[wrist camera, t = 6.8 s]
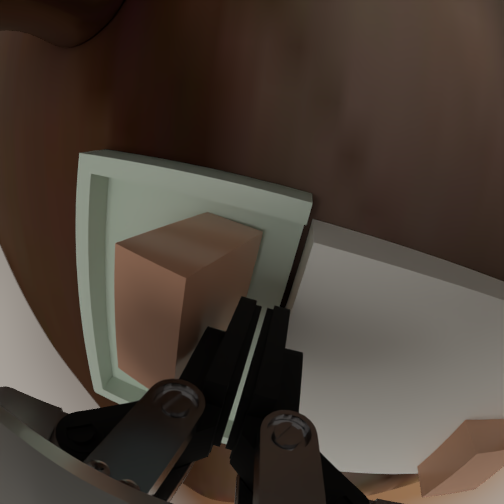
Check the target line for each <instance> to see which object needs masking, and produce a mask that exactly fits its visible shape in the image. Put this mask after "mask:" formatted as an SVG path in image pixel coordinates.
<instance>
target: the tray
mask: <svg viewBox="0 0 504 504" xmlns="http://www.w3.org/2000/svg"><path fill="white" fill-rule="evenodd" d="M312 204H313V201H312V193H309V192H305V191H302V190H298V189H294V188H290V187H287V186H283V185H279V184H275V183H271V182H267V181H263V180H259V179H255V178H251V177H247V176H243V175H238V174H234V173H230V172H225V171H221V170H216V169H211V168H207V167H202V166H197V165H192V164H187V163H182V162H177V161H172V160H167V159H161V158H156V157H150V156H144V155H139V154H133V153H126V152H120V151H113V150H107V149H106V150H98V151H90V152H83V153H79V164H78V177H77V195H76V258H77V276H78V290H79V300H80V310H81V318H82V326H83V333H84V340H85V346H86V352H87V357H88V363H89V368H90V373H91V378H92V382H93V387H94V391H95V392H96V393H98V394H100V395H102V396H104V397H106V398H108V399H110V400H112V401H114V402H116V403H118V404H124V403H129V402H134V401H138V400H140V399H141V398H142V397H143V396H144V395H145V393H146V392H147V391H148V390H149V389H148V388H146V387H145V386H143V385H142V384H140V383H139V382H138V381H136V380H135V379H133V378H132V377H130V376H129V375H128V374H126V373H125V372H123V371H122V370H121V369H119V368H118V359H117V346H116V329H115V298H114V269H115V243H117V242H120V241H123V240H125V239H128V238H131V237H134V236H137V235H140V234H142V233H145V232H148V231H151V230H154V229H157V228H160V227H163V226H166V225H169V224H172V223H175V222H178V221H181V220H184V219H187V218H190V217H193V216H196V215H199V214H203V213H206V212H209V213H212V214H215V215H218V216H220V217H223V218H226V219H229V220H232V221H234V222H237V223H240V224H243V225H246V226H248V227H251V228H254V229H257V230H259V231H262V232H263V235H262V239H261V243H260V247H259V250H258V254H257V258H256V262H255V266H254V270H253V274H252V278H251V281H250V285H249V289H248V293H247V297H246V298H250V299H254V300H257V303H256V305H259V306H262V309H261V312H260V316H259V319H258V323H257V326H256V330H255V333H254V337H253V340H252V344H251V347H250V351H249V354H248V358H247V361H246V364H245V368H244V371H243V374H242V378H241V381H240V384H239V387H238V391H237V394H236V397H235V400H234V404H233V407H232V410H231V413H230V416H229V419H228V423H227V426H226V429H225V432H224V435H223V438H222V441H221V443H224V444H227V441H228V438H229V435H230V431H231V428H232V425H233V421H234V418H235V415H236V411H237V408H238V405H239V401H240V398H241V394H242V391H243V388H244V384H245V381H246V377H247V374H248V370H249V367H250V364H251V360H252V357H253V354H254V350H255V347H256V344H257V341H258V337H259V334H260V331H261V327H262V324H263V320H264V317H265V314H266V310H267V308H270V309H273V308H274V306H279V307H280V304H281V300H282V297H283V294H284V291H285V288H286V284H287V281H288V278H289V274H290V271H291V268H292V265H293V261H294V258H295V254H296V251H297V248H298V244H299V241H300V237H301V234H302V230H303V227H304V225H307V222H308V218H309V215H310V211H311V207H312Z"/></svg>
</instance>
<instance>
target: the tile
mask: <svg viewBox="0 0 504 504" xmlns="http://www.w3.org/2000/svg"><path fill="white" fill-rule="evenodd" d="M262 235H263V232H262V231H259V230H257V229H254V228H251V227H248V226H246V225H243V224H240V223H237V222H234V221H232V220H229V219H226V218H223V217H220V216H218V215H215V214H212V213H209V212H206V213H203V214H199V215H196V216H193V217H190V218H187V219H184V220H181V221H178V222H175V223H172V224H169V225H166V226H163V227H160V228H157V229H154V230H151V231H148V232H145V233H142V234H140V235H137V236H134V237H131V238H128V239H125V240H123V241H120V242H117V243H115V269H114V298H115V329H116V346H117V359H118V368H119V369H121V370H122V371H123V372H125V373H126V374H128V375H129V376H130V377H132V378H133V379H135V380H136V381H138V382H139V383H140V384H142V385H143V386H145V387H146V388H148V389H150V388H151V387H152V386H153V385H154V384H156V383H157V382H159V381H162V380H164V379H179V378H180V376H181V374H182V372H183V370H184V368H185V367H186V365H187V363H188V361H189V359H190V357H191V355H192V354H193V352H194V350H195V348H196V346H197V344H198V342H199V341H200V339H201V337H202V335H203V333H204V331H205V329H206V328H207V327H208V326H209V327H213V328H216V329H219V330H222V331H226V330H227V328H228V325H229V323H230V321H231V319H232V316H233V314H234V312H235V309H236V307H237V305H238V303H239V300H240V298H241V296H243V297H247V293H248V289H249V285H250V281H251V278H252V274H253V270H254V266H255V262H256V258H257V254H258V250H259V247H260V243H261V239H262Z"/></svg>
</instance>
